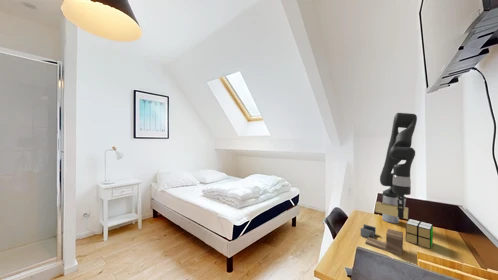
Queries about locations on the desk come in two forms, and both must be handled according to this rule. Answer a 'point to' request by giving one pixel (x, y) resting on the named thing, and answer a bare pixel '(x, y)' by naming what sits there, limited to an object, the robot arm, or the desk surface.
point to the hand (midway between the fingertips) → (400, 216)
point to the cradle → (368, 231)
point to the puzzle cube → (419, 233)
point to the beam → (389, 242)
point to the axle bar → (390, 209)
